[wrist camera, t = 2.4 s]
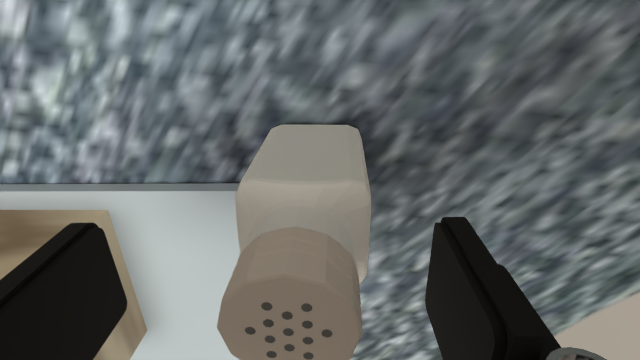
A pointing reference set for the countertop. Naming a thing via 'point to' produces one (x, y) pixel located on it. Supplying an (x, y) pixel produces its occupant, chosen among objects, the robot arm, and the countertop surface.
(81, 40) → the countertop surface
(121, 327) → the plinth
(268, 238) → the pepper shaker
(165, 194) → the pale grey rectangular plate
